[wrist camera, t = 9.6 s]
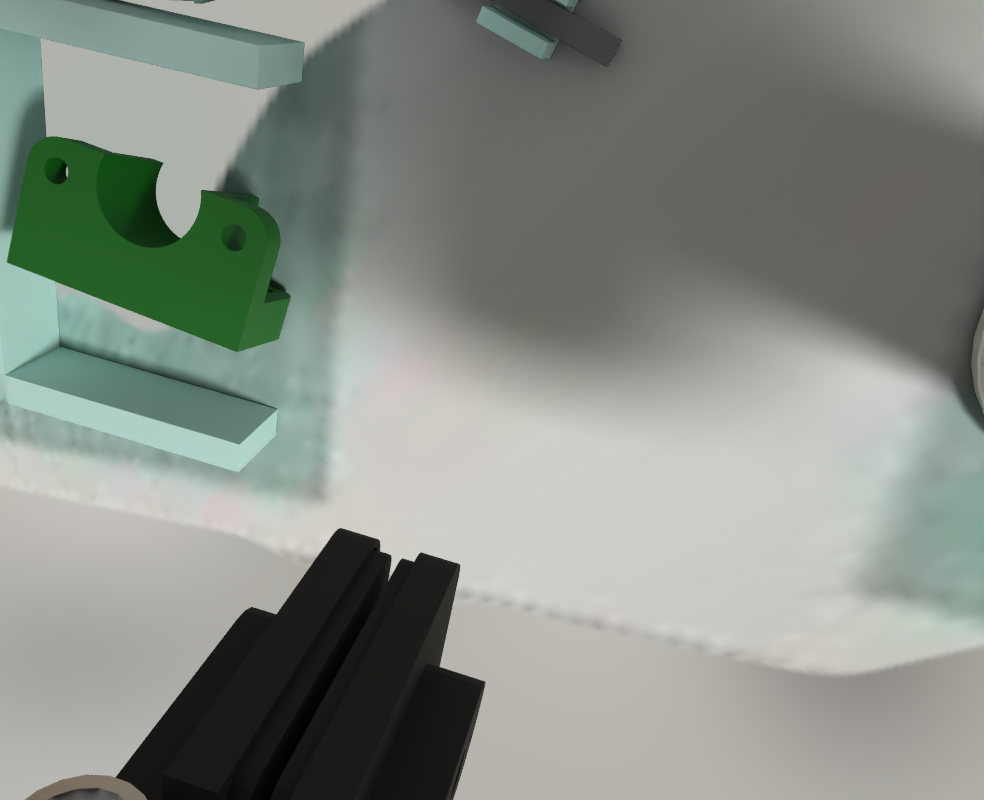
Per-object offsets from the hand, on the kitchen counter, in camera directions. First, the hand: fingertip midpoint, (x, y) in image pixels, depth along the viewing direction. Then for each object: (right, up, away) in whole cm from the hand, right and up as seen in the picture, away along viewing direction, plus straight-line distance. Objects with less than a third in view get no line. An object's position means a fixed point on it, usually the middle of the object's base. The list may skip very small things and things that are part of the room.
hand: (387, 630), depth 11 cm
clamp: (-13, +11, +29) cm, 34 cm away
